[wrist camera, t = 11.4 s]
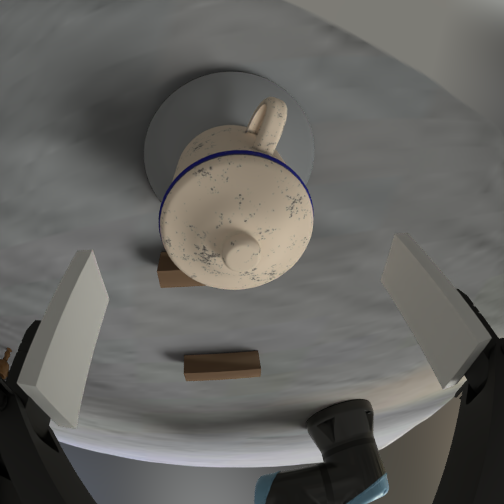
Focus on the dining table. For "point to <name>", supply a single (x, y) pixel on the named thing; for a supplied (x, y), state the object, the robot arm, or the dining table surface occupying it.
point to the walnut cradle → (207, 363)
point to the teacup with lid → (237, 205)
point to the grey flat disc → (221, 122)
